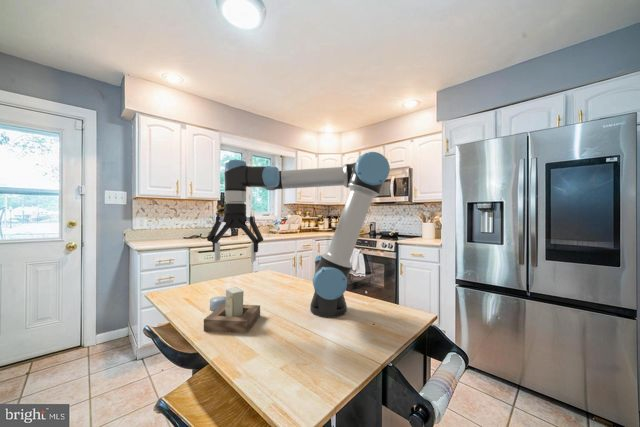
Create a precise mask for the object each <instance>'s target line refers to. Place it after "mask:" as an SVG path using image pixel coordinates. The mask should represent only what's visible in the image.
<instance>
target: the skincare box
mask: <svg viewBox="0 0 640 427" xmlns="http://www.w3.org/2000/svg"><path fill="white" fill-rule="evenodd" d="M225 297H226V309H225V316H227V317H241V316H242V315H243V305H244V290H242V289H241V288H239V287H230V288H226V289H225Z"/></svg>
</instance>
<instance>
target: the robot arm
mask: <svg viewBox="0 0 640 427" xmlns="http://www.w3.org/2000/svg"><path fill="white" fill-rule="evenodd" d="M390 172H391V168H390V163H389V161H388V159H387V157H385V155H383V154H382V153H379V152H378V151H377V152H376V151H368V152H365V153H363V154H361V155H360V156H359V157H358V158H357V160H356V162H352V163H345V164H344V165H342V166H337V167H319V168H303V169H287V170H279V168H278V167H277V166H271V165H267V166H266V165H265V166H264V165H263V166H258V165H257V166H254V165H253V166H251V165H250V166H248V165H247V162H246V161H244V160H242V159H229V160H228V159H227V161H225V164H224V172H223V174H224V202H225V204H224V215H223V216H222V215H217V216H215V222H214V224H213V227H212V229H211V231H210V233H209V234H208V237H207V240H206V241H207V242H211V243H212V252H214V261H215V262H218V261H220V260H221V242H220V240H221V238H222V237H223V236H224V235H225V234H226V232H228V230H231V229H232V230H233V229H241V230H242V231H243V232H244V233H245V234H246V235H247V237H248V238H249V239H250V241H251V242H252V243H251V245H250V246H251V247H250V250H251V251H250V252H251V254H250V256H251V258H250V261H251V263H254V262H256V261H257V258H256V257H257V253H258V252H259V243H261V242H264V238H263V234H262V233H261V231H260V229H259V227H258V225H257V223H256V218H255V216H252V215H251V216H248V217H247V204H246V202H247V188H262V189H265V190H267V191H276V190H284V189H285V190H286V189H304V188H318V187H319V188H321V187H336V186H337V187H338V186H343V187H345V188H346V189H347V188H348V189H349V193H348V196H347V198H346V201H345V205H344V206H343V210H342V212H341V214H340V217H339V220H338V223H337V225H336V228H335V231H334V233H333V237H332V239H331V241H330V245H329V246H328V250H327V252H325V253H322V254H317V255H316V256H315V257H314V258H315V260H314V264H315V265H314V275H313V278H312V285H313V289H314V292H313V297H312V300H311V303H310V312H311V313H312V314H313V315H315V316H318V317H321V318H322V317H323V318H337V317H341V316H345V314H346V313H347V311H348V310H347V309H348V308H347V307H348V306H347V302H346V298H345V297H344V293H345V292H346V290H347V287H348V278H349V276H350V272H351V270H352V269H353V268H352V266H353V265H352V263H351V259H352V255H353V252H354V250H355V247H356V244H357V242H358V239H359V236H360V234H361V231H362V228H363V225H364V223H365V221H366V218H367V215H368V212H369V209H370V206H371V204H372V201H373V200H374V198H376V197H378V196H379V194H380V193H381V190H382V187H383V184H384V183H385V181H386V180H387V178H388V177H389V176H390V175H389V174H390ZM222 222H224V223H225V224H224V225H223V226H222V228H221V229H220V227H221V225H222ZM246 222H248V223H249V224H250V227H251V229H252V231H251V230H250V228H249V227H248V225H247V224H246ZM219 229H220V231H219ZM217 232H218V233H217Z"/></svg>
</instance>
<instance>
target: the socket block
mask: <svg viewBox="0 0 640 427" xmlns="http://www.w3.org/2000/svg"><path fill="white" fill-rule="evenodd" d="M225 309H226V304H223V305H221V306H220V307H219V308H218V309H216V310H215V311H211V313H209V315H208V316H206V317H205V318H204V319H203V331H204V332H215V333H216V332H219V333H236V334H247V333H248V332H249V331H250V329H251V328H252V326H254V324H256V323H255V322H257V320H258V319H260V316H261V305H255V304H243V315H242V316H241V317H227V316H225Z"/></svg>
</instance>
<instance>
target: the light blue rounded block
mask: <svg viewBox="0 0 640 427" xmlns="http://www.w3.org/2000/svg"><path fill="white" fill-rule="evenodd" d="M223 304H226V296H222V295H220V296H215V297H212V298H210V299H209V311H211V312H214V311H215V310H216V309H218V308H219V307H220V306H221V305H223Z"/></svg>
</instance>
